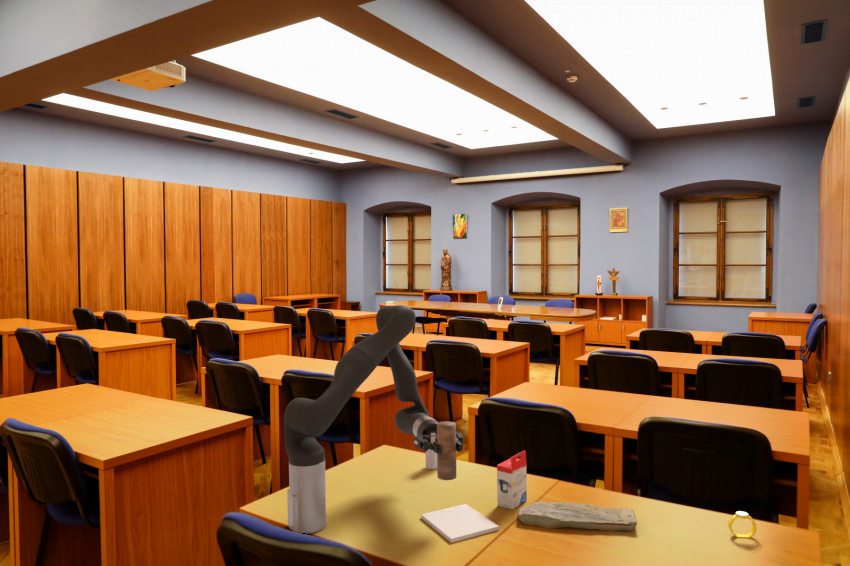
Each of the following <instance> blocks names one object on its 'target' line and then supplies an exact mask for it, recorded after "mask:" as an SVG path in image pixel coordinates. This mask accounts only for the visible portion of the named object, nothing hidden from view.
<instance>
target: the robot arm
mask: <svg viewBox="0 0 850 566" xmlns="http://www.w3.org/2000/svg"><path fill="white" fill-rule="evenodd" d="M416 318H417V316H416V313H415V311H414V309H413V308H412V307H410V306H408V305H403V304H402V305H401V304H400V305H386V306H381V308H379V309H378V311H377V313H376V316H375V324H376V329H377V331H376V332H375V333H373V334H371V335H369V336H367V337H365V338H364V339H362V340H360V341H359V342H357V343H355V344H354V345H352V347H350V348H349V349H348V350H347V351H346V352H345V353H344V355H342V357H340V358H339V360H338V361H337V363H336V366H335V368H334V372H333V376H332V377H333V378H332V381H331V384H330V386H329V387H328V388H327V389H326V390H325V391H324V392H323V393H322V394H321V396H320V397H319V396H318V398H317V399H310V398H306V397H296V398H294V399H292V400H291V401H290V402H289V403H288V404H287V406H286V408H285V409H284V410H285V411H284V415H283V432H284V447H285V451H286V454H287V457H288V476H289V477H288V478H289V479H288V480H289V481H288V482H289V483H288V484H289V485H288V487H289V488H288V489H287V490H286V492H287V493H286V494H287V497H286V498H287V499H286V500H287V502H286V503H287V527H288V528H289V529H290V530H293V531H297V532H300V533H306V534H307V535H308V534H312V533H313V534H314V533H317V532H320V531H322V530H323V529H324V528H325V527H326V526H327V505H326V504H327V501H326V500H327V499H326V496H327V494H326V491H327V489H326V488H327V487H326V451H325V448H324V447H323V446H322V444H320V443H319V442H318V440H317V438H316V437H319V436H322V435H323V434H324V433H326V431H327V430H328V429H329V428H330V426H331V425H332V423H333V422H334V420H335V419H336V418H337V416H338V415H339V414H340V412H341V411H342V409H343V408H344V406H345V405H346V403H348V401H349V400H350V399H351V398H352V396H353V395H354V394H355V392H357V390H358V389H359V388H360V386H362V384H364V382H365V381H366V380H367V379H368V378H369V377H370V376H371V374H372V373H373V372H374V371H375V370H376V368H377V367H379V364H380V363H381V362H382V361H384V359H385V358H387V360H388V363H389V367H390V370H391V372H392V377H393V382H394V388H395V389H394V390H395V394H396V399H397V400H398V401H400V402H402V403H403V402H404V403H407V402H412V403H413V405H412V406H407V407H405V408H401V409H399V410H398V411H396V413H395V415H394V423H395V426H396V427H397V429H398V430H399V431H400V432H401V433H403V434H407V435H412V436H414V437H413V439H414V441H413V442H414V443H413V444H414V446H413V447H416V448H417V449H418V450H419V449H420V450H422V451H423V452H426V451H428V449H431V451H434V452H435V453H437V454H438V455H440V454H442V447H441V445H439V444H438V443H437V423H439V422H440V421H437V420H436V419H435V418H433V417H431V416H430V415H429V414H430V413H429V412H428V409H427V408H426V405H425V403H424V402H423V400H422V397H421V394H420V391H419V387H418V380H417V376H416V372H415V370H414V367H413V365H412V364H411V362H410V360H409V359H408V356H407V355H406V354H405V353H404V351H403V349H402V346H401V345H400V342H402V341H403V340H404V339H406V338H407V336H408V335H409V334H410V333H411V332H412V331H413V329H414V327H415V325H416V321H417V319H416ZM463 448H464V436H463V433H462V432H460V431H456V452H457V453H462V452H463V450H464V449H463ZM300 533H299V534H300Z"/></svg>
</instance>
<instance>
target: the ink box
mask: <svg viewBox="0 0 850 566" xmlns="http://www.w3.org/2000/svg"><path fill="white" fill-rule="evenodd" d="M496 476H497V477H496V478H497V479H496V480H497V481H496V484H497V489H496V491H497V494H496V495H497V506H498V507H501V508H504V509H507V510H514V509H515V508H516V507H519V506H520V505H521V504H523V503H525V502H526V501H527V499H528V498H527V495H528V494H527V492H528V491H527V490H528V489H527V487H528V485H527V453H526V450H522V451H521V452H518V453H516V454H515V455H513V456H510V458H508V459H507V460H504V461H502V462H501V463H499V464H497V465H496Z"/></svg>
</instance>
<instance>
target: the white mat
mask: <svg viewBox="0 0 850 566" xmlns="http://www.w3.org/2000/svg"><path fill="white" fill-rule="evenodd" d="M420 519H422V520H423V521H424V522H425V523H426V524H427V525H429V526H430V527H432V528H433V529H434V530H435V531H436V532H437V533H438V534H440V535H441V536H442V537H443V538H444V539H446V540H447V541H448V542H449V543H451V544H452V543H456V542H457V543H458V542H460V541H464V540H468V539H471V538H475V537H479V536H482V535H486V534H489V533H493V532H497V531H499V530H500V527H499V525H498V524H497V523H495V522H494V521H492V520H490V519H489V518H487V517H486V516H485V515H483V514H482V513H480V512H479V511H477V510H475V509H474V508H472V507H471V505H470V506H469V505H468V504H466V503H464V504H460V505H455V506H451V507H450V506H449V507H446V508H442V509H438V510H434V511H429V512H426V513H421V514H420Z"/></svg>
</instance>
